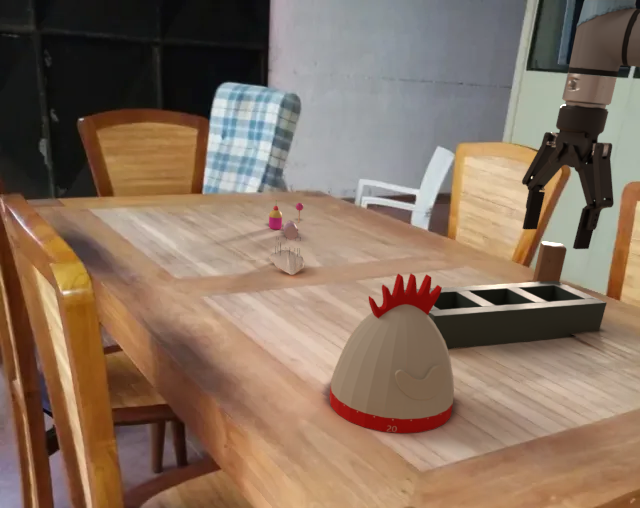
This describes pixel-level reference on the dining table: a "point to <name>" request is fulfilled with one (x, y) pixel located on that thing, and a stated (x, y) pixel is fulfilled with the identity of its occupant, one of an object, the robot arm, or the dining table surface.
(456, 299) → the socket bar
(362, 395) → the kitchen timer
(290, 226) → the toys
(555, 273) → the wooden block
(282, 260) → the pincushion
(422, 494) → the dining table surface
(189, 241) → the dining table surface
